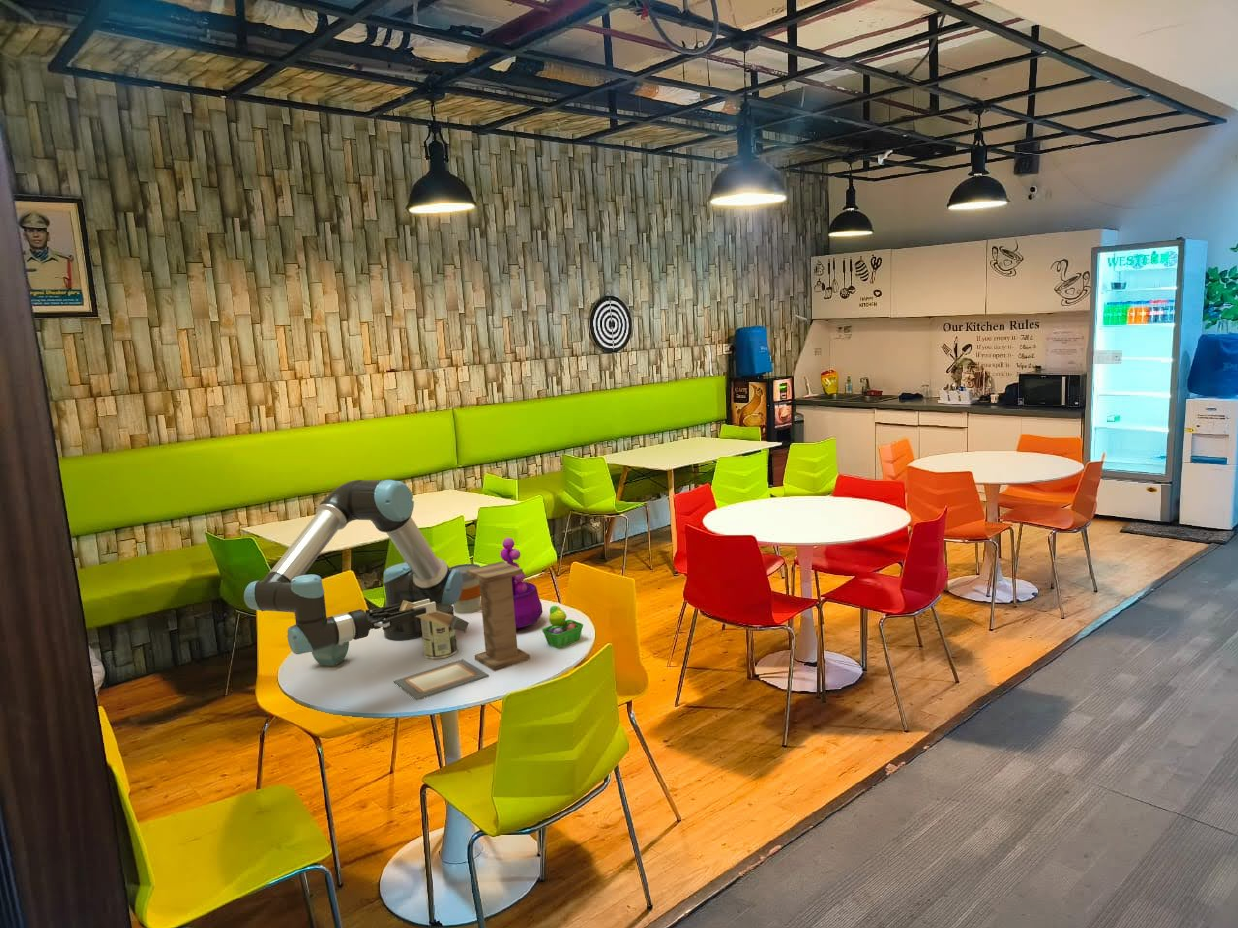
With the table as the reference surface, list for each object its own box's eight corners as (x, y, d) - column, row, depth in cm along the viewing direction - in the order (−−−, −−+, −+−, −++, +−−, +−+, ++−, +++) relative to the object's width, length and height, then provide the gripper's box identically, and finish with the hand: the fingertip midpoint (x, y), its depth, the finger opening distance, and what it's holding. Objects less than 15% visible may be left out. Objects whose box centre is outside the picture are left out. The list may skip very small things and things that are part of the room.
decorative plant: (477, 625, 284) (469, 538, 279) (525, 611, 295) (518, 527, 290) (504, 639, 269) (496, 548, 264) (553, 624, 280) (547, 537, 275)
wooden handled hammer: (395, 608, 235) (399, 597, 235) (452, 625, 246) (456, 616, 246) (407, 614, 228) (411, 604, 229) (465, 632, 240) (469, 622, 240)
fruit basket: (556, 650, 258) (554, 615, 256) (539, 643, 264) (536, 609, 262) (585, 639, 265) (583, 605, 263) (568, 633, 272) (565, 599, 270)
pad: (393, 682, 241) (393, 680, 241) (462, 660, 254) (462, 658, 254) (416, 700, 229) (416, 697, 228) (488, 676, 242) (488, 673, 241)
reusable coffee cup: (466, 617, 292) (462, 575, 290) (442, 611, 300) (437, 571, 297) (492, 606, 302) (488, 566, 300) (468, 601, 309) (464, 562, 307)
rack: (475, 659, 254) (466, 570, 250) (509, 648, 261) (502, 561, 257) (494, 671, 245) (486, 578, 240) (529, 659, 252) (522, 568, 247)
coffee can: (444, 643, 269) (440, 601, 267) (464, 650, 262) (460, 607, 260) (417, 654, 262) (412, 610, 259) (436, 661, 254) (432, 617, 252)
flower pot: (353, 658, 261) (350, 630, 260) (335, 670, 253) (331, 641, 252) (329, 656, 264) (326, 629, 263) (311, 667, 256) (307, 639, 254)
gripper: (341, 632, 230) (421, 611, 244) (362, 647, 217) (446, 624, 231) (338, 605, 229) (419, 586, 243) (359, 619, 216) (443, 598, 230)
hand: (432, 605), depth 237 cm, fingers closed on wooden handled hammer, 3 cm apart
